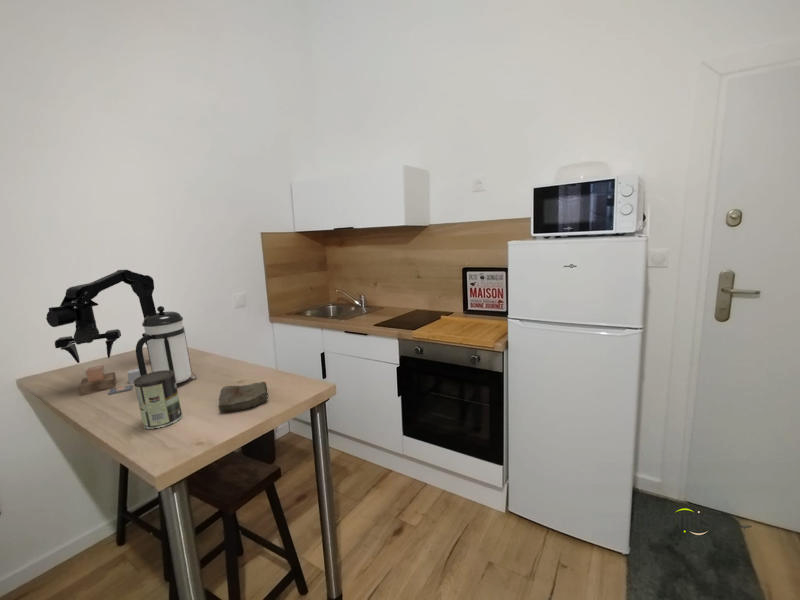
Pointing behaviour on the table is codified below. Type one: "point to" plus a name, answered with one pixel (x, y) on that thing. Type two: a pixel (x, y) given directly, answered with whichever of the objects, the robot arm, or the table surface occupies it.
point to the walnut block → (98, 384)
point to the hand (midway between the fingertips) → (94, 360)
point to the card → (120, 389)
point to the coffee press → (165, 345)
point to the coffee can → (158, 399)
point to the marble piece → (242, 396)
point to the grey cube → (133, 375)
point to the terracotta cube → (95, 373)
